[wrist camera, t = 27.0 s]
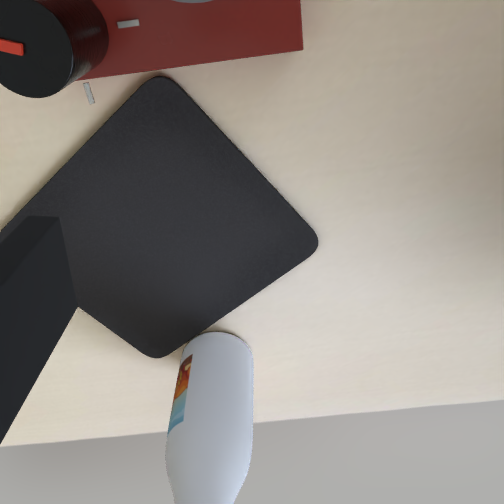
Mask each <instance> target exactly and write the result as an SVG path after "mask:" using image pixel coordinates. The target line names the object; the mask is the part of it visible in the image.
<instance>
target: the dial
mask: <svg viewBox="0 0 504 504" xmlns="http://www.w3.org/2000/svg"><path fill="white" fill-rule="evenodd" d="M108 45H109V34H108V28H107V25H106V22H105V19H104V17H103V15H102V13H101V12H100V10H99V9H98V8H97V6H96V5H95V4H94V3H93V2H92V1H91V0H0V83H1V84H2V85H3V86H4V87H6V88H7V89H9V90H11V91H13V92H14V93H17V94H19V95H22V96H26V97H31V98H44V97H48V96H51V95H54V94H56V93H57V92H59V91H60V90H62V89H63V88H65V87H66V86H68V85H69V84H71V83H72V82H74V81H76V80H77V79H79V78H80V77H82V76H83V75H85V74H86V73H88V72H89V71H91V70H92V69H94V68H95V67H97V66H98V65H99V64H100V63H101V62H102V60H103V59H104V57H105V55H106V53H107V50H108Z"/></svg>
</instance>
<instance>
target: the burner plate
mask: <svg viewBox="0 0 504 504" xmlns="http://www.w3.org/2000/svg"><path fill="white" fill-rule="evenodd" d="M173 1H177V2H185V3H201V2H208V1H212V0H173Z"/></svg>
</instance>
